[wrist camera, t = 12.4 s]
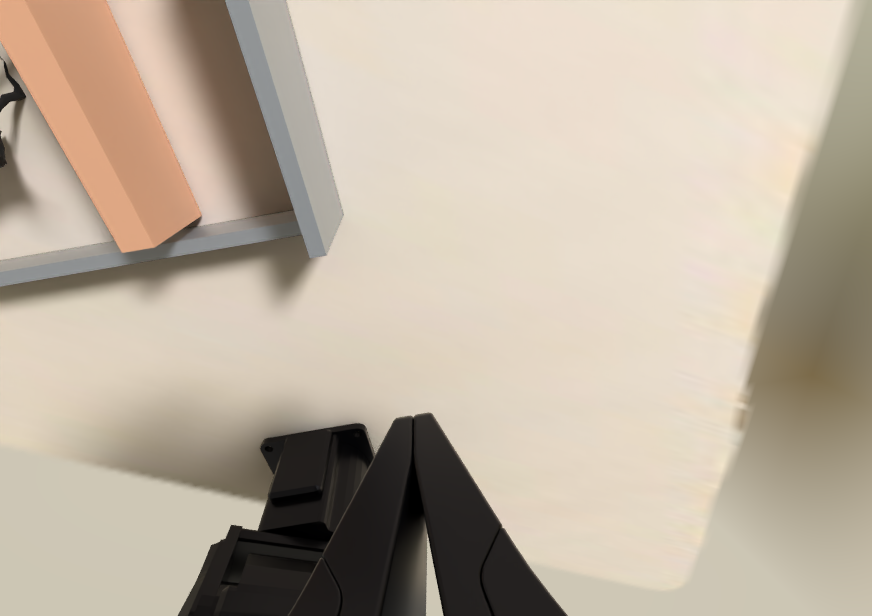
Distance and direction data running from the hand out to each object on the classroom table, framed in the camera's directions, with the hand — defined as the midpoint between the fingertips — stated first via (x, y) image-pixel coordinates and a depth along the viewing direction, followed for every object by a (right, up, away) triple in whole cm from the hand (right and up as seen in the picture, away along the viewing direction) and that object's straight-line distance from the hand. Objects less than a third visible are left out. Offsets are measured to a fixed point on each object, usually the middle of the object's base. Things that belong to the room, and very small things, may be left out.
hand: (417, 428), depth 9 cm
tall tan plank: (-11, +11, +7) cm, 17 cm away
